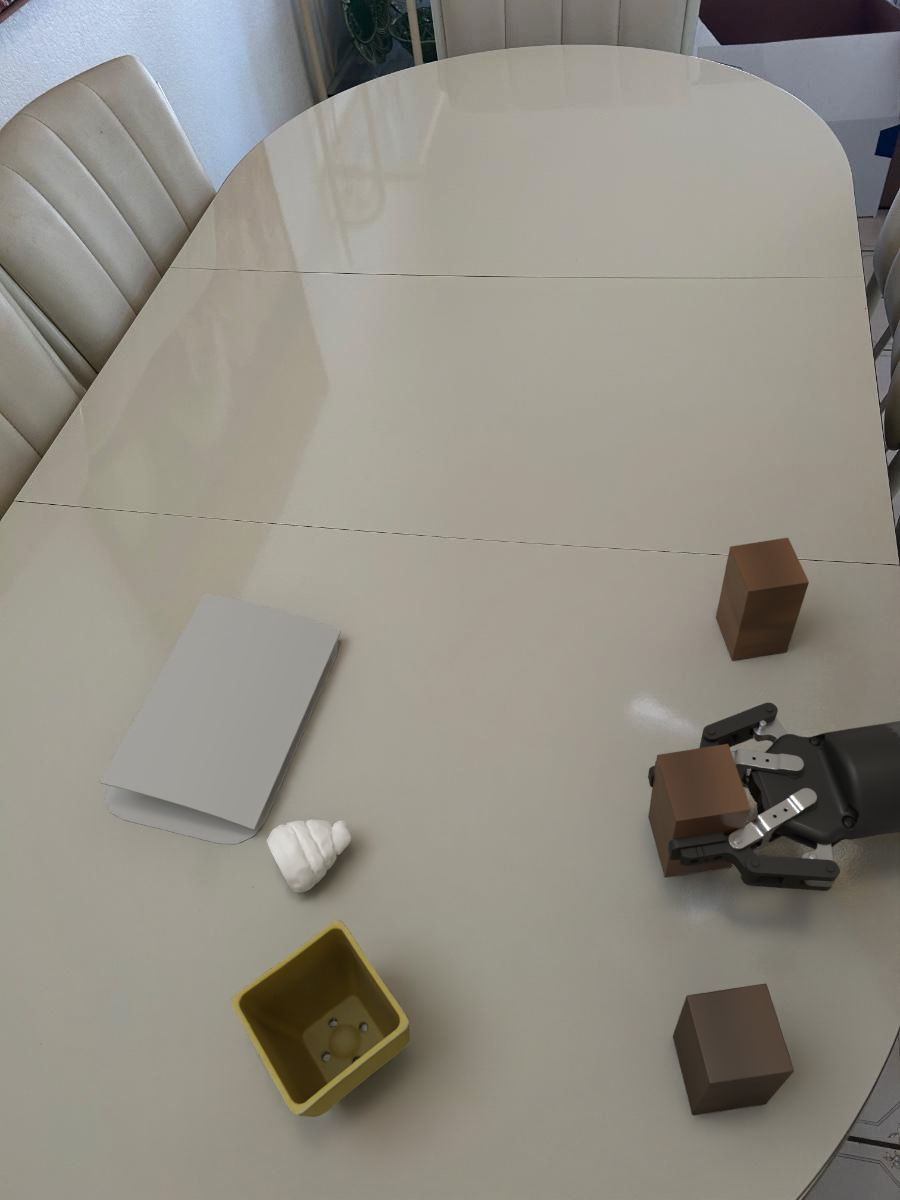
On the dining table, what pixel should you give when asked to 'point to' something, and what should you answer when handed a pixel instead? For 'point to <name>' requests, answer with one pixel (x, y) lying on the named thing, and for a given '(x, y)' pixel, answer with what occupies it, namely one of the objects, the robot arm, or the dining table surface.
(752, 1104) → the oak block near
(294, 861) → the white swirl cone
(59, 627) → the dining table surface
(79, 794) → the dining table surface
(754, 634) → the walnut block far
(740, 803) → the walnut block middle
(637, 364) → the dining table surface
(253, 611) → the book
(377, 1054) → the flower pot
